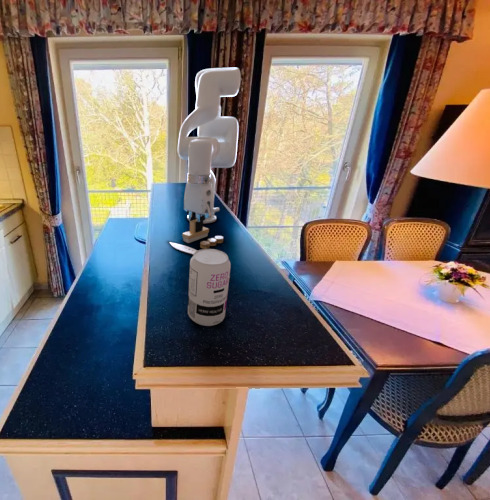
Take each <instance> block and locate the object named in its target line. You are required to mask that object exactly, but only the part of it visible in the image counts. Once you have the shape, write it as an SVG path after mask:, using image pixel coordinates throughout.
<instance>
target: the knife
mask: <svg viewBox="0 0 490 500" xmlns="http://www.w3.org/2000/svg"><path fill="white" fill-rule="evenodd" d="M169 244H170V245H171V247H173V248H174V249H176V250H179V251H180V252H183V253H187V254H190V255H192V256H193V255H194V253H195V252H196V251H198V250H197V249H195V248H193V247H190V246H188V245H183V244H180V243H178V242H177V243H176V242H171V241H169ZM230 278H231V275H230V276H229V279H230Z"/></svg>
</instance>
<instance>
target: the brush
mask: <svg viewBox="0 0 490 500" xmlns="http://www.w3.org/2000/svg"><path fill="white" fill-rule="evenodd" d="M196 221H197V219H196V220H192V221H189V230H187V231H185V232H182V234H181V237H182V241H183V242H185V243H187V244H191V243H193V242H196V241H199V240H201V239H203V238H206V237H208V235H209V233H210V228H208V227H205V226H203V230H202V231H200V232H195V228H196Z"/></svg>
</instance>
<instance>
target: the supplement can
mask: <svg viewBox="0 0 490 500" xmlns="http://www.w3.org/2000/svg"><path fill="white" fill-rule="evenodd" d="M231 265H232V264H231V261H230V259H229V256H228V254H227V253H226V252H225V251H222V250H220V249H215V248H208V249H203V248H201V249H199V250H198V251H196V252H195V253H194V255H193V254H192V257H191V258H190V260H189V277H188V294H187V295H188V297H187V298H188V299H187V302H188V303H187V315H188V317H189V318H190V319H191V321H193V322H194V323H196V324H198V325H200V326H205V327H212V326H217V325H218V324H220V323H222V322H223V321H224V319H225V318H226V311H227V310H226V309H227V301H228V292H229V283H230V278H229V276H230V277H231Z"/></svg>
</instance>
